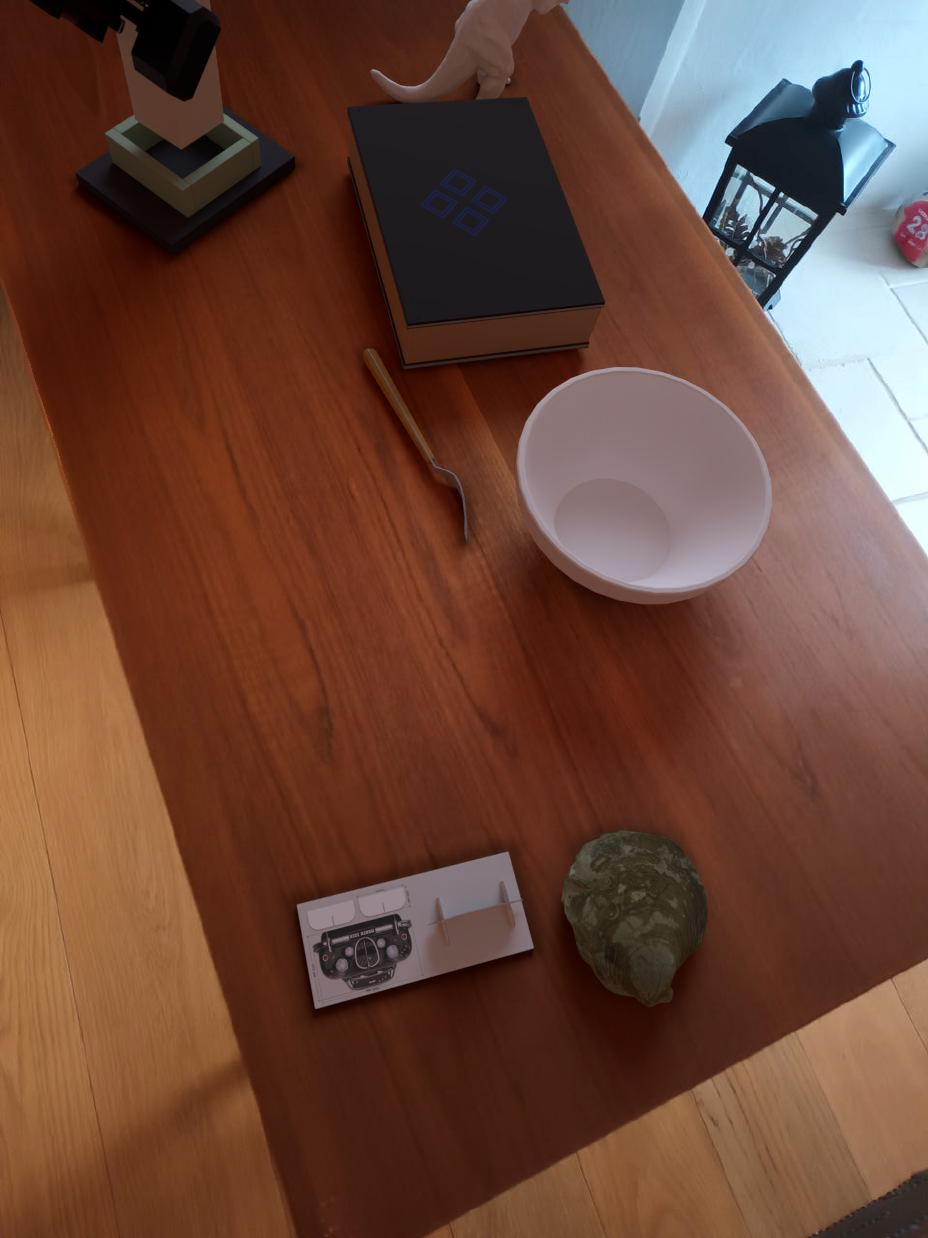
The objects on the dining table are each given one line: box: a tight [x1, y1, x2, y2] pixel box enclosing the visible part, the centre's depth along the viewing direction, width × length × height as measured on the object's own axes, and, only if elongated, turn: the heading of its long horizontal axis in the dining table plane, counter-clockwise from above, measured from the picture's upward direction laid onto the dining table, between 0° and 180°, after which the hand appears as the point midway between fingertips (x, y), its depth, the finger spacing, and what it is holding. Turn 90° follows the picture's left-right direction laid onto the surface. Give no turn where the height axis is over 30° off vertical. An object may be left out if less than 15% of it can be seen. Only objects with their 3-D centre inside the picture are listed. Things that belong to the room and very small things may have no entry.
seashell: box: [560, 829, 709, 1008], centre depth 60 cm, size 10×7×10 cm
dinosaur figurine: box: [369, 0, 570, 104], centre depth 84 cm, size 20×10×15 cm, turn 108°
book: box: [346, 96, 606, 371], centre depth 79 cm, size 17×25×7 cm
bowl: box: [514, 366, 773, 605], centre depth 69 cm, size 20×20×10 cm
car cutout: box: [296, 851, 535, 1010], centre depth 57 cm, size 15×7×4 cm, turn 104°
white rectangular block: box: [115, 0, 224, 149], centre depth 71 cm, size 5×5×14 cm
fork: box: [362, 347, 468, 544], centre depth 73 cm, size 2×2×20 cm
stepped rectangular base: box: [75, 104, 296, 256], centre depth 80 cm, size 16×12×4 cm
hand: (177, 37), depth 71 cm, fingers closed on white rectangular block, 5 cm apart
